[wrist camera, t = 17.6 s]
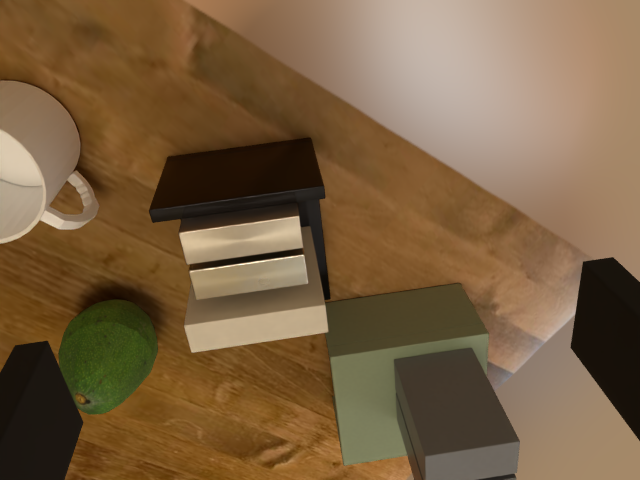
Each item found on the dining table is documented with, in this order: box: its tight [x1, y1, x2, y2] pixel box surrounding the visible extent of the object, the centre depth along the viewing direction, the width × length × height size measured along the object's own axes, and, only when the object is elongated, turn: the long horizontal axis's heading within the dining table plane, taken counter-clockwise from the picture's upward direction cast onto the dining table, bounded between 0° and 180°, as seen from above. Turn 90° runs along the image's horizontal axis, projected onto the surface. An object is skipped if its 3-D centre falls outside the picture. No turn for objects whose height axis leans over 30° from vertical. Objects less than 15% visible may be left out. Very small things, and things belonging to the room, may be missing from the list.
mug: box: [0, 80, 99, 243], centre depth 42 cm, size 12×9×9 cm
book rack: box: [149, 138, 330, 300], centre depth 47 cm, size 12×16×12 cm
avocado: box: [58, 299, 158, 414], centre depth 50 cm, size 8×8×12 cm
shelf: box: [325, 283, 520, 480], centre depth 52 cm, size 14×14×18 cm
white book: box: [184, 226, 329, 353], centre depth 46 cm, size 10×2×12 cm, turn 96°
